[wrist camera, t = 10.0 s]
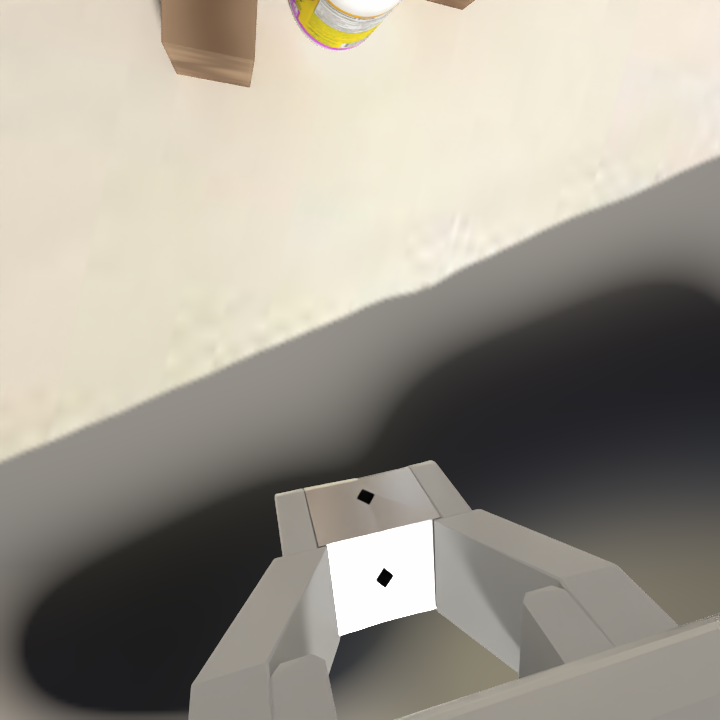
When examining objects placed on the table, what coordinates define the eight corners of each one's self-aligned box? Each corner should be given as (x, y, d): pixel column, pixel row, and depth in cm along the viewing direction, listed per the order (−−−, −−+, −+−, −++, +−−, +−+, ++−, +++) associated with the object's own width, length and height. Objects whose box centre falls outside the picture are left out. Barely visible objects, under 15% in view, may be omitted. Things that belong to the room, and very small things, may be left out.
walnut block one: (176, 73, 34) (161, 41, 26) (177, -13, 32) (160, -73, 25) (249, 87, 35) (254, 60, 28) (253, 4, 33) (259, -47, 26)
